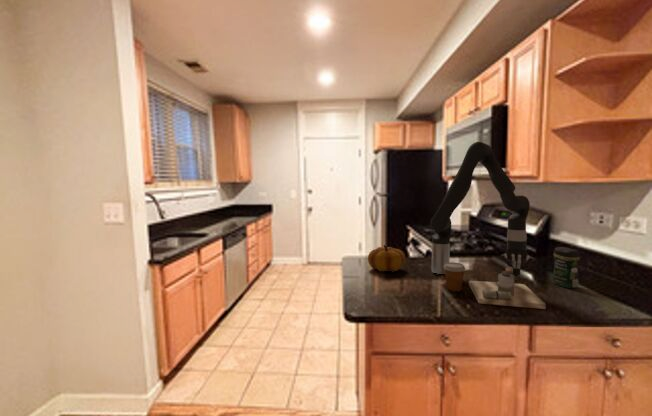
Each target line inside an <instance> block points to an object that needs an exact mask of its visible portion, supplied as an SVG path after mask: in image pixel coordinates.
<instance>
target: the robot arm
mask: <svg viewBox="0 0 652 416" xmlns="http://www.w3.org/2000/svg"><path fill="white" fill-rule="evenodd" d="M479 163H480V164H481V165H482V166H483V167H484V168H485V169H486V170H487V173H488V175H489V179H490V181H491V184H492V185H493V186H494V188H495V189H496V191H497V192H498V194H499V195H500V196H499V197H500V199H501V202H502V205H503V206H504V208H505V209H506V210H507V211H509V212H512V215H510V217H508V218H507V231H506V251H505V253H503V254H501V255H500V258H501V259H502V260H503V261H504V262H505V264H507V267H511V269H512V275H513V276H514V277H519V276H520V275H521V269H525V268H526V267H527V266H528V265H529V264H530V263H531V262H533V260H534V258H533V256H530V255H529V253H528V250H527V243H528V242H527V241H528V237H527V218H528V214H529V212H530V206H531V205H530V204H531V203H530V200H529V198H528V197H527V196H525V195H516V194H515V191H516V185H515V184H514V182H513V181H512V180H511V179H510V177H509V176H508V175H507V173H506V172H505V170H504V169H503V168H502V166H501V164H500V163H499V160H498V159H497V157H496V154H495V152H494V150H493V148H492V147H491V145H489V144H488V143H484V142H483V141H475V142H472V143H471V145H469V147H468V149H467V150H466V152H465V155H464V157H463V160H462V163H461V165H460V167H459V169H458V171H457V173H456V174H455V177H454V178H453V180H452V182H451V184H450V185H449V186H448V187H449V188H448V190H447V191H446V194H445V196H444V198H443V200H442V202H441V204H440V205H439V207H438V209H437V210H436V212H435V213H434V214H433V217H431V220H430V228H431V229H432V231H434V232H433V236H432V238H431V239H432V240H431V273H432V272H433V273H437V274H436V275H438V274H445V269H444V265H445V263H449V262H450V257H451V256H450V248H451V247H450V246H451V238H452V219H451V217H452V214H453V213H454V211H455V210H456V209H457V208H458V207H459V205H460V204H462V202H463V201H464V199H465V198H466V196H467V195H468V193H469V191H470V188H471V186H472V183H473V182H472V181H473V174H474V171H475V170H476V167H477V165H478V164H479ZM508 258H509V259H510V260H511V261H510V260H509V259H508ZM525 259H526V261H524V260H525ZM523 261H524V262H523ZM522 262H523V263H522ZM433 273H432V274H433Z"/></svg>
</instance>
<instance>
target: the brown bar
mask: <svg viewBox="0 0 652 416" xmlns="http://www.w3.org/2000/svg"><path fill="white" fill-rule="evenodd" d="M497 282H498V291H500V292H510V293H511V296H513V295H514V284H515V275H513V274H512V267H510V266H505V270H502V272H501V273H499V274H497Z"/></svg>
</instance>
